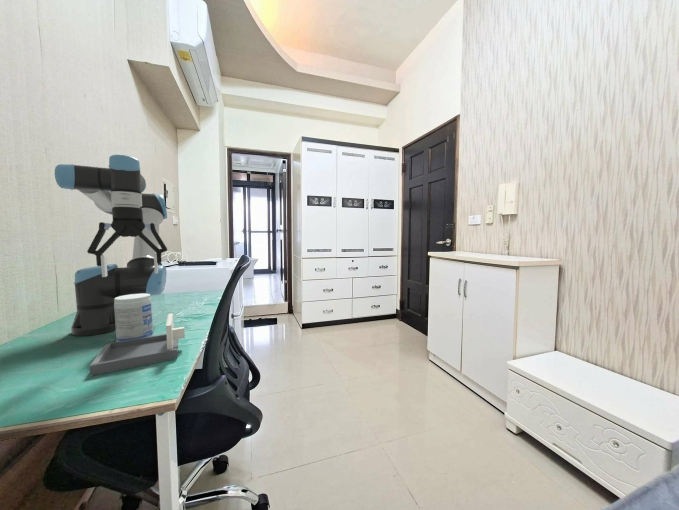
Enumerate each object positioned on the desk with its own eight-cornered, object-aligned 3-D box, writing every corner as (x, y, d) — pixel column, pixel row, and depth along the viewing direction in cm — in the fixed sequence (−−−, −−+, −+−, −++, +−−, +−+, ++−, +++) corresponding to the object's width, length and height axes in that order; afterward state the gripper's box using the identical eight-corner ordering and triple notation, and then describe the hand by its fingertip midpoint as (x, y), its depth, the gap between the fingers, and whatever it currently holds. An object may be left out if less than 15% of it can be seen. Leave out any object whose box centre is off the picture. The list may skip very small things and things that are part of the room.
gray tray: (107, 351, 78) (106, 343, 78) (178, 339, 87) (178, 331, 87) (90, 375, 65) (89, 365, 64) (177, 358, 74) (176, 349, 73)
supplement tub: (152, 342, 85) (150, 296, 84) (114, 349, 80) (111, 301, 79) (153, 333, 93) (151, 291, 92) (118, 339, 88) (116, 295, 87)
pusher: (169, 338, 85) (168, 313, 84) (184, 335, 87) (183, 311, 87) (167, 354, 73) (165, 325, 73) (185, 350, 76) (183, 323, 75)
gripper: (69, 203, 74) (75, 279, 76) (173, 207, 87) (176, 273, 88) (78, 206, 81) (83, 276, 82) (173, 209, 93) (176, 270, 94)
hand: (131, 274), depth 85 cm, fingers open, 12 cm apart
